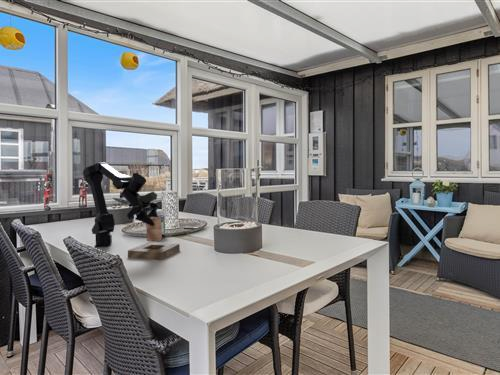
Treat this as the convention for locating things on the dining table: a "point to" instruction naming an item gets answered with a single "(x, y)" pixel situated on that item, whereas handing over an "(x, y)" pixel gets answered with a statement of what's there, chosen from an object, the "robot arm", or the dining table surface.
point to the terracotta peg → (154, 230)
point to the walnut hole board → (153, 250)
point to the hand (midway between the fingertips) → (156, 224)
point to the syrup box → (161, 214)
